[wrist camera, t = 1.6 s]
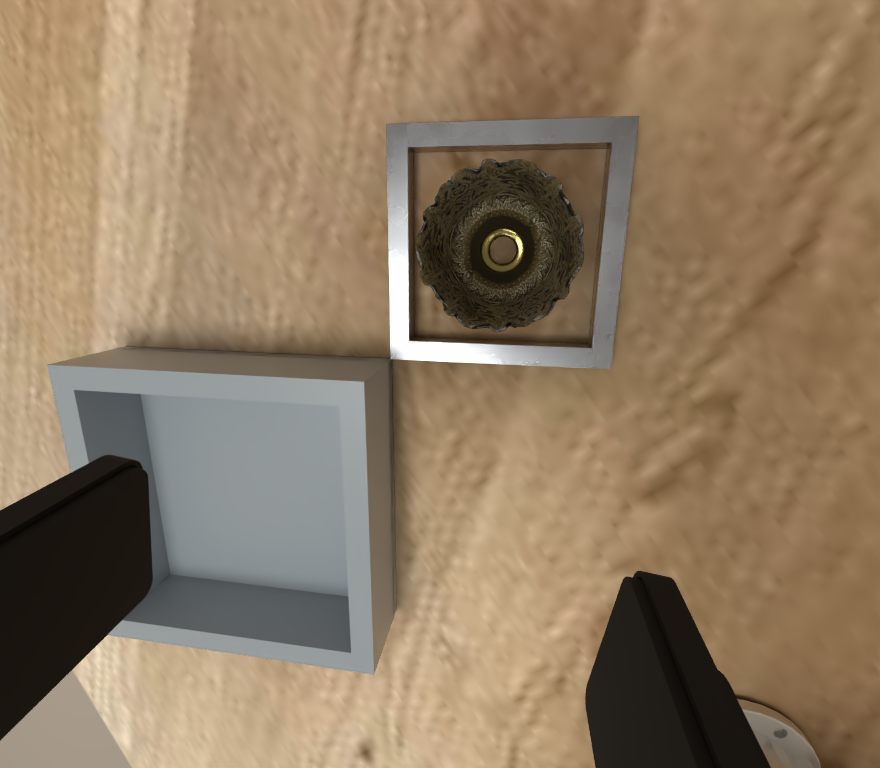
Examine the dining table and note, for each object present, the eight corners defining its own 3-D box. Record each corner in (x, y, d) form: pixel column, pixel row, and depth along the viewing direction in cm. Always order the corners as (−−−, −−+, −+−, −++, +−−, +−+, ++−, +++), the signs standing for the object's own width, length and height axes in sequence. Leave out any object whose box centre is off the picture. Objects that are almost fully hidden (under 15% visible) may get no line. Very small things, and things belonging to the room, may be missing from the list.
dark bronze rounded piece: (419, 230, 29) (384, 222, 21) (525, 157, 27) (528, 119, 19) (482, 334, 30) (470, 361, 22) (588, 270, 28) (615, 276, 20)
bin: (391, 358, 31) (364, 381, 26) (396, 609, 37) (373, 674, 31) (125, 346, 34) (47, 364, 29) (165, 580, 40) (106, 634, 34)
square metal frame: (632, 123, 26) (638, 116, 24) (606, 363, 29) (610, 369, 28) (392, 130, 28) (386, 123, 26) (396, 354, 31) (390, 359, 30)
